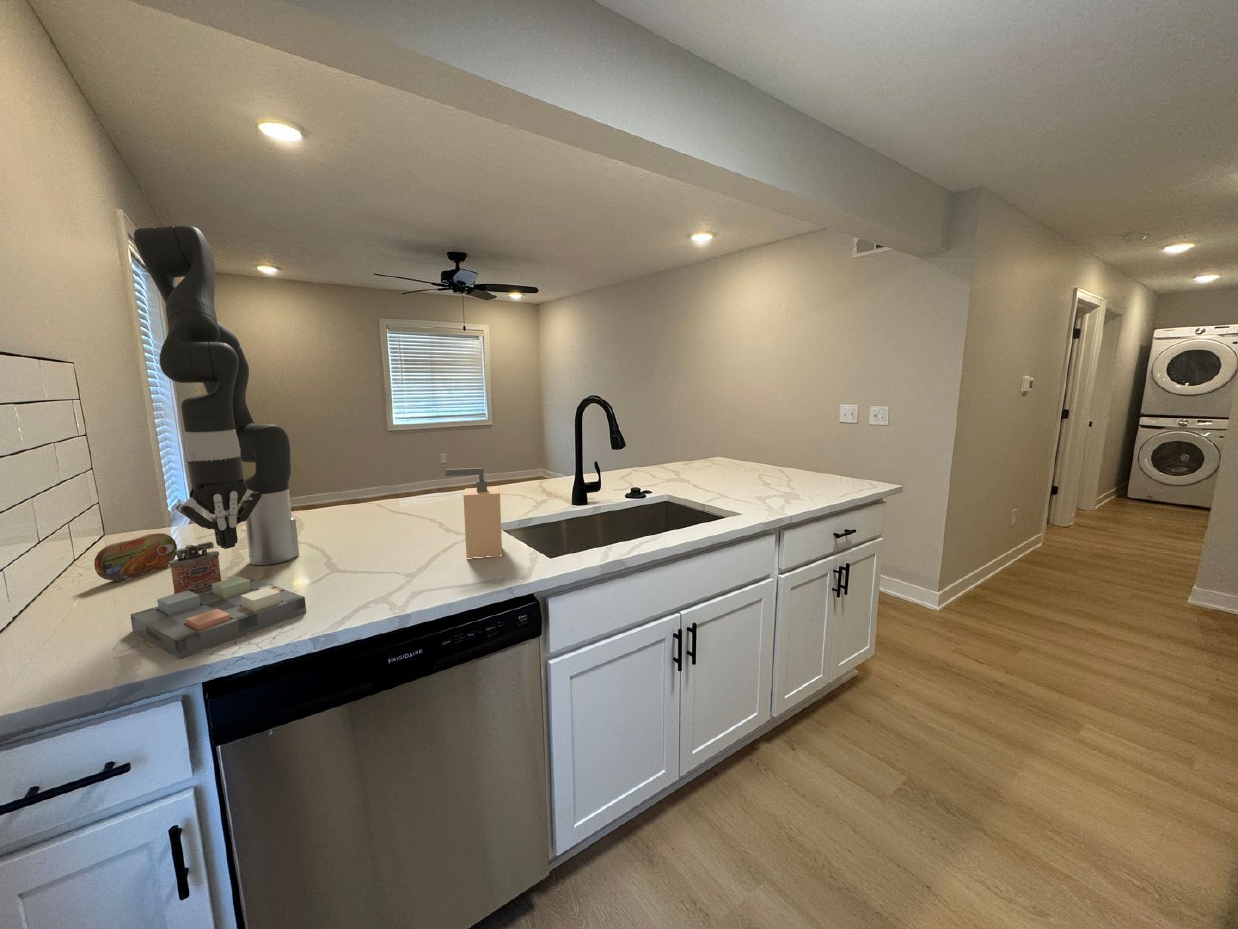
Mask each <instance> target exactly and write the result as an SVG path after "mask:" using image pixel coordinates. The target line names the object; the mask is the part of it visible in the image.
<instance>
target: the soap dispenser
mask: <svg viewBox="0 0 1238 929" xmlns="http://www.w3.org/2000/svg"><path fill="white" fill-rule="evenodd" d="M444 472H445V474H444V475H445V477H454V476H455V477H456V476H458V477H459V476H477V475H478V479H477V480H476V482H475V483H476V487H475V488H474V487H470V488H469V487H468V488H464V491H463V509H464V512H463V514H464V515H463V516H464V535H465V537H464V538H465V555H466V558H473V557H486V556H500V555H502V556H503V542H502V539H503V538H502V537H503V536H502V516H501V514H502V511H501V510H502V509H501V491H500V487H499V486H493V487H488V483H487V481H488V480H487V479H485V478H484V476H485V475H484V474H485V473H484V467H474V468H473V467H470V468H446V469H445V471H444Z"/></svg>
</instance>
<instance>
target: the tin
mask: <svg viewBox="0 0 1238 929" xmlns="http://www.w3.org/2000/svg"><path fill="white" fill-rule="evenodd" d="M177 549H178V546H177V542H176V540H175V539H174V538H173V536H171V535H169V534H166V533H161V532H160V533H149V534H145V535H141V536H139V537H135V538H130V539H126V540H122V541H119V542H116V543H112V544H109V545H107V546H104V547H103V548H102V549H101V550H99V552H98V553H97V554H96V556H95V557H94V561H93V562H94V564H93V566H94V569H95V573H96V574H97V575H98V576H99V577H101V578H102V579H103V580H107V581H112V582H114V581H116V582H124V581H123V580H125V581H127V580H126V579H129V578H132V577H135V578H137V577H141V576H143V575H142V574H144V575H146V574H145V573H147V574H149V573H148V572H150V571H153V570H156V571H159V570H162V569H164V568H166V567H168V566H169V561H172V560H175V558H176V557H177V555H176V551H175V550H177ZM161 568H162V569H161ZM153 572H154V571H153ZM150 573H151V572H150ZM140 575H141V576H140ZM132 579H133V578H132ZM129 580H130V579H129Z"/></svg>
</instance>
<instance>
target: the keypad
mask: <svg viewBox="0 0 1238 929" xmlns="http://www.w3.org/2000/svg"><path fill="white" fill-rule="evenodd" d="M249 580H250V588H251V591H248V592H244V593H241V594H238V595H235V596H231V597H228V598H225V599H221V598H219V597H216V596H214V595H213V591H208V592H205V593H202V594H198V595H199V598H200V605H201V606H199V607H196V608H192V609H189V610H186V611H182V612H179V613H176V614H173V615H169V616H166V615H164V614H163V613H161V612H159V607H158V606H155V607H152V608H148V609H145V610H141V611H138V612H134V613H130V622H131V628H132V631H133V632H134V633H136V632H137V633H138V635H139V636H141V637H143V638H144V639H146V640H147V641H149V642H151V643H152V644H154V645H156V646H157V647H159V648H161V649H162V650H163V651H166V652H167V651H168V652H167V653H169V654H171V655H172V656H174V657H176V658H177V659H179V660H181V659H184V658H187V657H189V656H192V655H195V654H197V653H201V652H204V651H205V650H208V649H211V648H214V647H216V646H220V645H221V644H225V643H228V642H230V641H232V640H234V639H238V638H240V637H243V636H245V635H249V634H252V633H254V632H257V631H259V630H262V629H265V628H267V627H271V626H273V625H275V624H278V623H281V622H283V621H286V620H289V619H292V618H295V617H297V616H299V615H301V614H302V613H303V614H305V613H307V605H306V597H305V596H303V595H301V594H297V593H295V592H292V591H290V590H286V589H284V588H282V587H278V586H276V585H273V584H270V583H267V582H265V581H262V580H259V579H257V578H250V579H249ZM266 587H269V588H271V589H274V590H277V591H279V592H280V594H281V603H278V604H275V605H273V606H270V607H267V608H264V609H261V610H258V611H255V612H251V611H249V610H247V609H244V608H242V603H241V595H244V594H247V593H250V592H253V591H257V590H260V589H263V588H266ZM215 609H219V610H221V611H224V612H226V613H228V614H230V620H229V621H226V622H223V623H220V624H217V625H214V626H211V627H208V628H205V629H202V630H199V631H195V630H193V629H191V628H189V627H187V623H186V619H187V618H190V617H193V616H196V615H199V614H202V613H206V612H209V611H212V610H215ZM303 614H302V615H303ZM137 633H136V634H137Z"/></svg>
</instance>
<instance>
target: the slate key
mask: <svg viewBox="0 0 1238 929" xmlns="http://www.w3.org/2000/svg"><path fill="white" fill-rule="evenodd" d="M156 601H157V605H158V607H159V612H161V613H163V614H164V615H166V616H169V615H173V614H176V613H179V612H182V611H186V610H189V609H192V608H196V607H199V606H201V605H200V598H199V594H195V593H193V592H191V591H189V590H187V591H184V592H180V593H177V594H171V595H166V596H163V597H159V598H157V600H156Z"/></svg>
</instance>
